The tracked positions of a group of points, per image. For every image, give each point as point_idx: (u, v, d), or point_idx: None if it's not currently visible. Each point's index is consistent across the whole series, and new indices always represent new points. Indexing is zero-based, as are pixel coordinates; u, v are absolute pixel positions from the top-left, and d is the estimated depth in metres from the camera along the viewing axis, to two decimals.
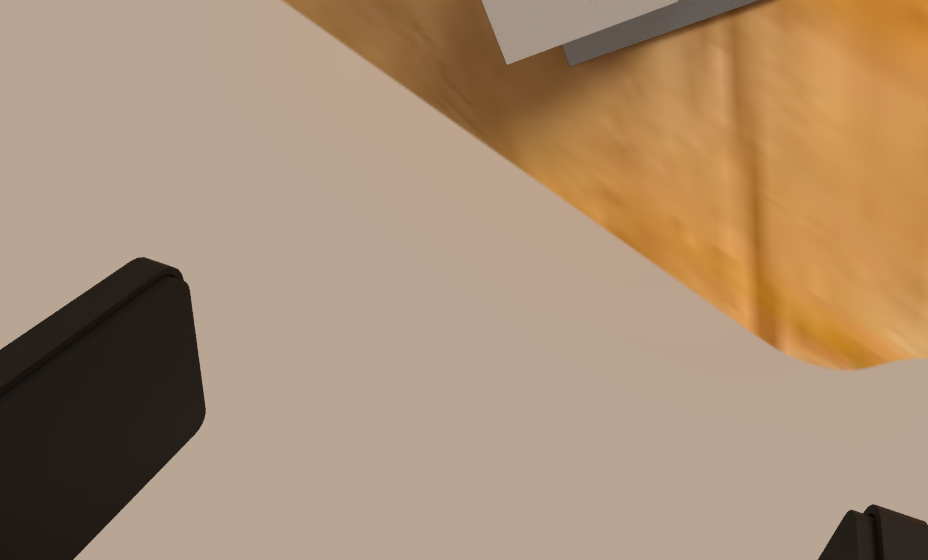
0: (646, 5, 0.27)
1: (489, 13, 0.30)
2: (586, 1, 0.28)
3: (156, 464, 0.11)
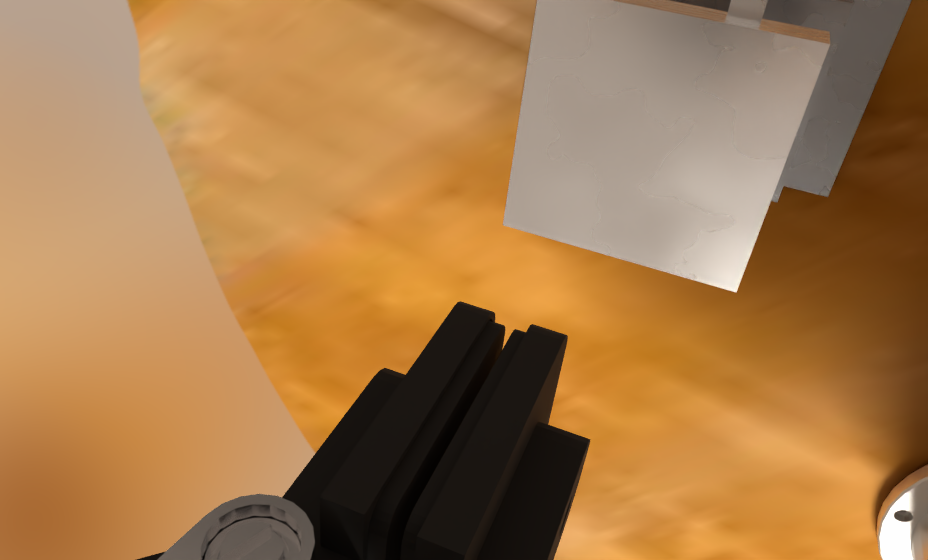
0: (515, 196, 0.22)
1: (619, 7, 0.18)
2: (556, 140, 0.21)
3: None
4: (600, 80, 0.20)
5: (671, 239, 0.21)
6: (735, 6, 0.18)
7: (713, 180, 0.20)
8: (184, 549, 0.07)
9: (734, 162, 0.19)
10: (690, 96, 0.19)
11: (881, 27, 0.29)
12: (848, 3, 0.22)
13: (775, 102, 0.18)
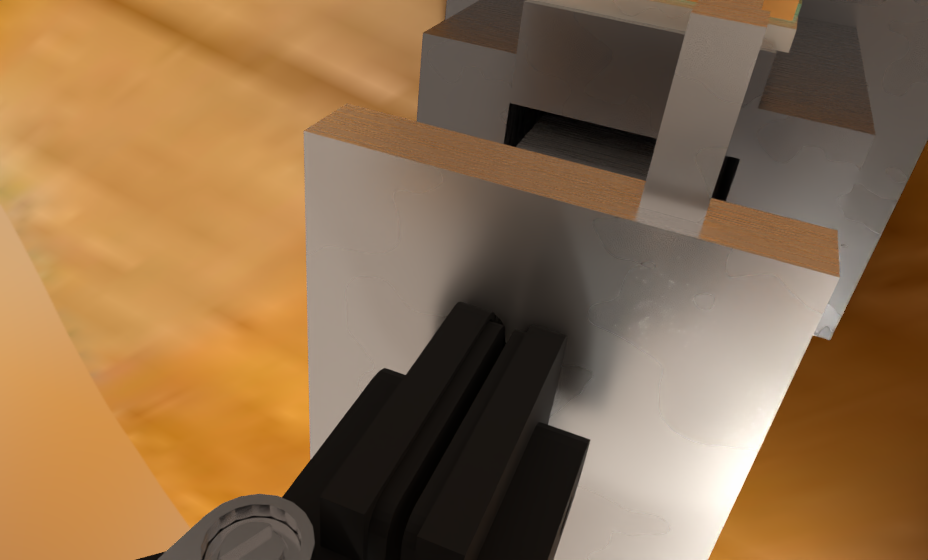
0: (322, 439, 0.14)
1: (443, 177, 0.10)
2: (370, 372, 0.12)
3: None
4: (426, 291, 0.11)
5: (568, 535, 0.12)
6: (656, 186, 0.09)
7: (630, 464, 0.11)
8: (184, 549, 0.07)
9: (664, 443, 0.11)
10: (581, 334, 0.10)
11: (908, 122, 0.20)
12: (867, 133, 0.13)
13: (735, 361, 0.10)
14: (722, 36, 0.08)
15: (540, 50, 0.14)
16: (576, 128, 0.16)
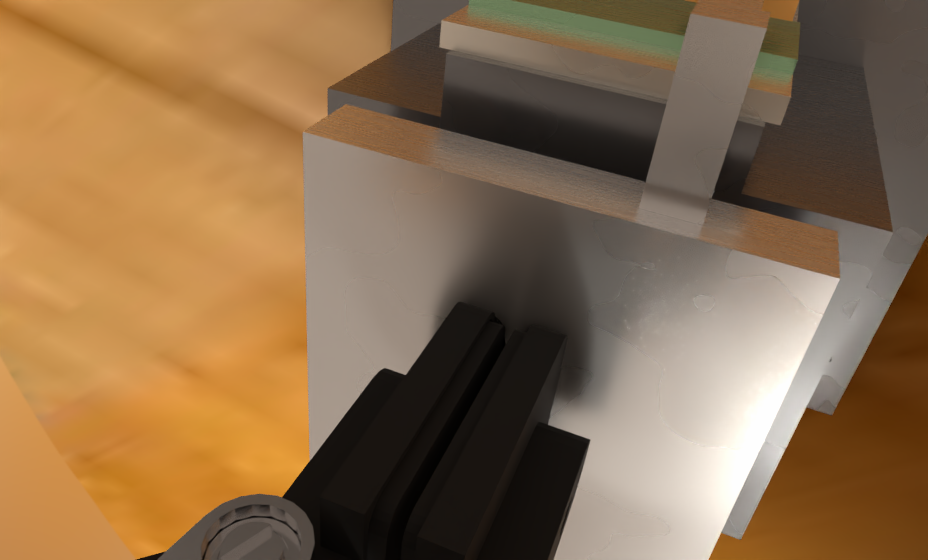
0: (321, 440, 0.14)
1: (442, 178, 0.10)
2: (369, 373, 0.12)
3: None
4: (426, 292, 0.11)
5: (567, 536, 0.12)
6: (656, 187, 0.09)
7: (631, 465, 0.11)
8: (184, 549, 0.07)
9: (664, 444, 0.11)
10: (581, 334, 0.10)
11: (924, 177, 0.17)
12: (882, 229, 0.10)
13: (735, 363, 0.10)
14: (722, 37, 0.08)
15: (469, 113, 0.11)
16: None
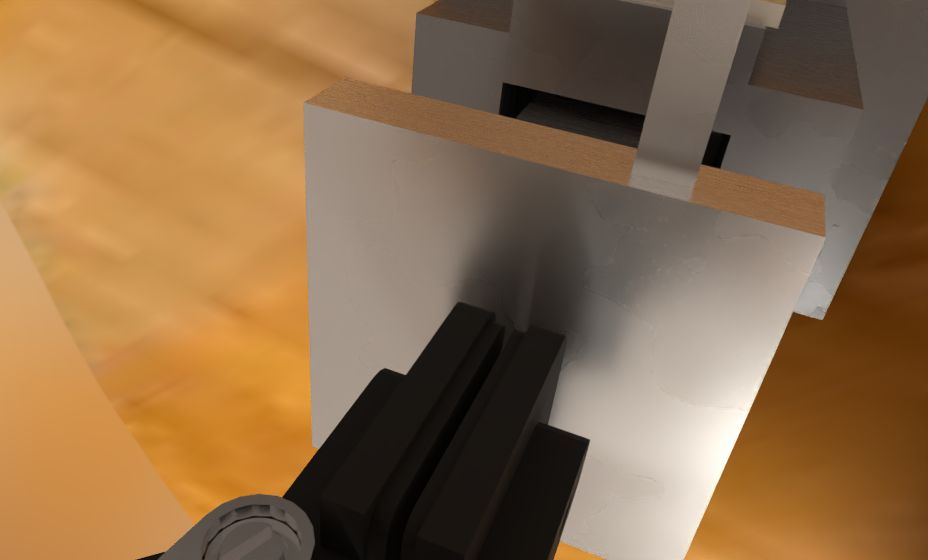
0: (323, 411, 0.14)
1: (440, 146, 0.10)
2: (370, 342, 0.12)
3: None
4: (425, 260, 0.11)
5: None
6: (648, 152, 0.10)
7: (625, 428, 0.11)
8: (184, 549, 0.07)
9: (658, 405, 0.11)
10: (576, 299, 0.11)
11: (898, 102, 0.20)
12: (855, 108, 0.13)
13: (725, 323, 0.10)
14: (710, 2, 0.08)
15: (533, 29, 0.15)
16: (571, 105, 0.16)
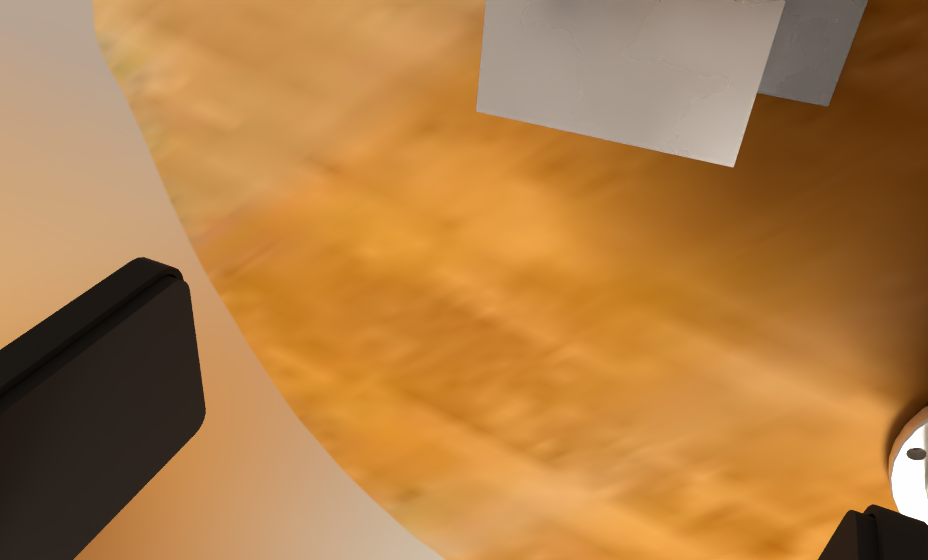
0: (488, 75, 0.20)
1: None
2: (530, 4, 0.19)
3: (156, 464, 0.11)
4: None
5: (660, 111, 0.19)
6: None
7: (704, 35, 0.18)
8: None
9: (727, 11, 0.17)
10: None
11: None
12: None
13: None
14: None
15: None
16: None
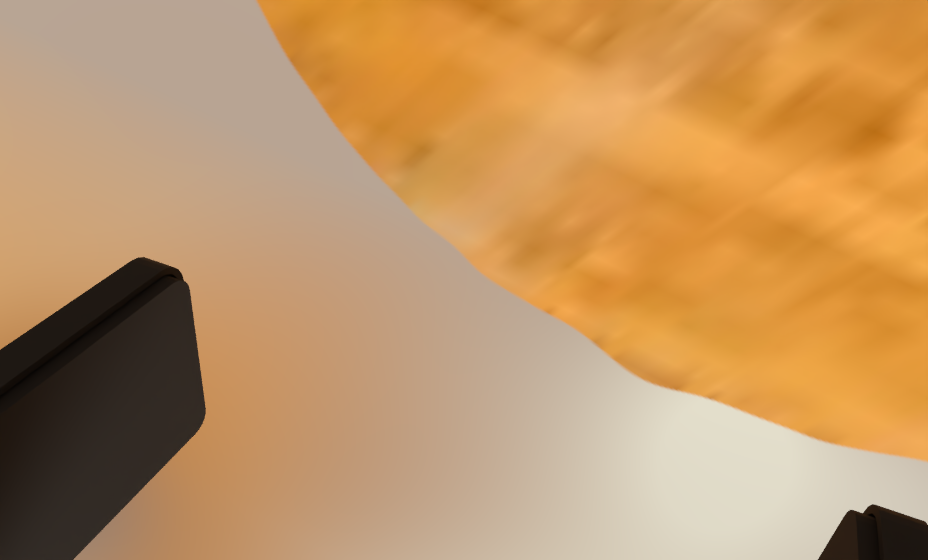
0: None
1: None
2: None
3: (156, 464, 0.11)
4: None
5: None
6: None
7: None
8: None
9: None
10: None
11: None
12: None
13: None
14: None
15: None
16: None
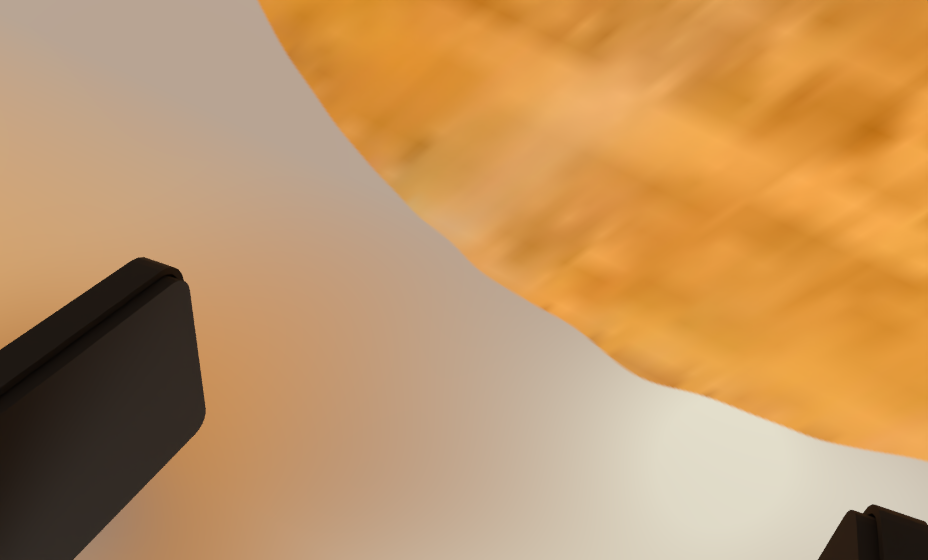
0: None
1: None
2: None
3: (156, 464, 0.11)
4: None
5: None
6: None
7: None
8: None
9: None
10: None
11: None
12: None
13: None
14: None
15: None
16: None
